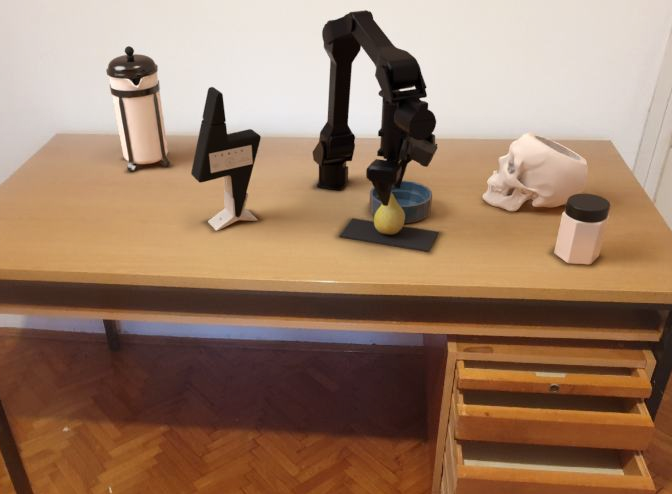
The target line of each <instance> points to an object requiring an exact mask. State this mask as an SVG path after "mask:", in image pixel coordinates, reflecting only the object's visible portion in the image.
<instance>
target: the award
mask: <svg viewBox="0 0 672 494" xmlns="http://www.w3.org/2000/svg"><path fill="white" fill-rule="evenodd" d="M224 103H225V102H224V95H223V92H221V91H219V89H216V88H215V87H214V86H210V87H208V89H207V93H206V97H205V103H204V107H203V112H202V116H201V117H202V120H201V123H200V128H199V132H198V138H197V142H196V147H195V152H194V157H193V163H192V167H191V176H192V177H193V178H194V179H195V180H196V181H197V182H198V183H205V182H209V181H213V180H217V179H220V178H224V183H225V184H224V185H225V189H223V200H224V201H223V202H224V207H223V209H221V210H220V211H219V212H217V213H216V214H215V215H214V216H213V217H211V218H210V219H209V220H208V221H207V223H208V224H209V225H210V226H211V227H212V228H213V229H214V230H215V232H217V231H220V230H222V229H225V228H226V227H227V226H229V225H231V224H234V223H236V222H238V221H253V222H257V221H259V219H258V218H257V217H255V216H254V215H253V214H252V213H251V211H250V210H247V209H246V206H247V202H248V197H249V193H248V188H249V184H250V180H251V176H252V173H253V170H254V165H255V162H256V158H257V155H258V151H259V146H260V143H261V139H262V137H261V135H260V134H259V133H257V132H256V131H254V130H253V129H251V128H249V129H245V130H240V131H235V132H229V133H228V131H227V129H228V127H227V123H226V122H227V120H226V111H225V104H224Z"/></svg>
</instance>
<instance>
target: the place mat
mask: <svg viewBox="0 0 672 494" xmlns="http://www.w3.org/2000/svg"><path fill="white" fill-rule="evenodd" d="M438 235H439V231H436V230H429V229H424V228H418V227H417V228H416V227H411V226H404V225H403V227H402V229H401V230H400V231H399V232H398V233H396V234H393V235H388V234H382V233H380V232H378V231H377V230H376V228H375V225H374V220H366V219H360V218H354V217H352V218H351V219H350V221H349V222H348V224H347V225H346V226H345V227H344V228H343V230H342V231H341V233H340V234H339V238H343V239H348V240H354V241H361V242H367V243H371V244H372V243H373V244H379V245H383V246H384V245H385V246H390V247H395V248H396V247H397V248H402V249H408V250H413V251H420V252H425V253H429V252H430V251H431V248H432V246H433V245H434V243H435V241H436V239H437V237H438Z"/></svg>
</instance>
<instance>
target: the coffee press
mask: <svg viewBox="0 0 672 494" xmlns="http://www.w3.org/2000/svg"><path fill="white" fill-rule="evenodd" d="M124 53H125V54H124V55H119V56H117V57H114V58H113V59H111V60H110V61H109V63H108V64H107V68H106V70H105V71H106V75H107V77H108V80H109V90H110V94H111V95H112V101H113V107H114V112H115V113H114V114H115V118H116V124H117V129H118V134H119V140H120V145H121V150H122V155H123V158H124V159H125V161H127V171H128V172H132V173H133V172H135V170H136V168H137V166H138V165H149V164H154V163H160V164H161V165H162V166H163V167H164V168H167V167H169V166H171V161H170V160H169V159H168V157H167V155H168V153H169V151H168V142H167V135H166V128H165V120H164V114H163V113H164V112H163V106H162V100H161V92H160V90H161V85H160V80H159V79H158V78H159V77H158V71H159V66H158V64H156V62H155V61H154V59H153V58H151V57H150V56H148V55H145V54H139V53H138V54H136V53H135V49H134V47H132V46H130V45H129V46H126V47H125V48H124Z"/></svg>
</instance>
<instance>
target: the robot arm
mask: <svg viewBox="0 0 672 494" xmlns="http://www.w3.org/2000/svg"><path fill="white" fill-rule="evenodd" d="M321 36H322V41H323V49H324V51H325V52H326V54H327V57H328V58H329V78H328V79H329V82H328V102H327V120H326V122H325V124H324V126H323V127H322V128H321V130H320V132H319V139H318V143H317V144H316V145H315V146H314V149H313V150H312V158H313V162H315V163H316V164H317V165H318V183H316V188H321V189H328V190H335V191H342V190H343V188H344V187H345V186H346V185H347V183H348V182H349V166H348V165H347V162H352V161H353V157H354V152H355V148H356V143H355V140H356V136H355V133H353V131H352V129H351V128H350V126H349V112H350V101H351V100H350V97H351V85H352V69H353V62H354V61H355V60H356V58H357V57H358V55H359V53H360V52H361V48H362V49H363V50H364V53H366V55H367V56H368V57H369V59H370V60H371V62H372V63H373V65H374V66H375V72H374V73H375V74H374V77H375V79H376V81H377V83H378V85H379V88H380V90H378V94H377V95H378V96H380V97H381V98H382V99H381V100H382V102H381V103H382V104H381V121H380V122H381V124H380V129H379V130H378V131H377V137H380V145H379V148H378V149H377V157H382V158H383V159H380V158H379V159H378V158H376V159H374V160H373V161H372V162H371V163H370V164H369V165H368V167H367V168H366V171H365V172H366V175H365V178H366V179H367V180H368V181H370V182H371V184H372V187H374V188H375V189H376V192H377V194H378V196H379V198H380V200H381V202H382V205H384V206H388V204H389V200H390V196H391V191H392V187H393V184H394V186H395V188H400V186H401V183H402V181H404V176H405V173H406V170H407V167H408V164H409V163H411V162H412V161H413V162H416V163H418V164H419V165H420V166H422V167H425V168H427V167H429V165H430V163H431V162H432V161H433V158H434V156H435V154H436V152H437V150H438V143H436V134H434V133H433V132H434V131H435V129H436V125H437V119H436V115H435V114H434V112H433V111H432V110H430V109H429V103H428V102H427V101H425V100H421V99H425V98H427V97H428V94H427V90H426V89H427V84H426V82H425V79H424V76H423V74H422V69H421V66H420V64H419V62H418V60H417V58H416V57H415V56H414V55H412V54H411V53H410V52H409V51H408V50H404V49H401V48H398V47H396V46H395V45H394V44H393V43H392V40H390V39H389V37H388V36H387V35H386V34H385V32H384V31H383V29H382V28H381V27H380V26H379V25H378V23H377V22H376V21H375V20H374V16H373V13H372V12H371V10H366V9H364V10H356V11H350V12H348V13H346V14H344V15H343V16H342V17H339V18H336V19H329V20H327V22H326V23H324V26H323V27H322V31H321Z"/></svg>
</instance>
